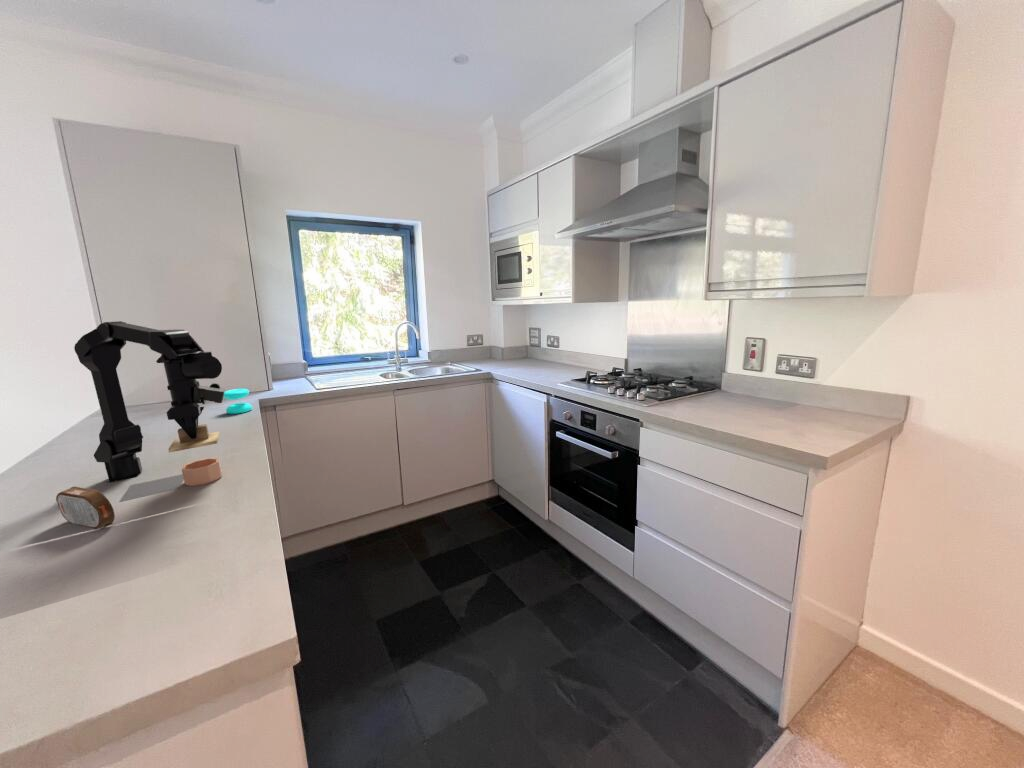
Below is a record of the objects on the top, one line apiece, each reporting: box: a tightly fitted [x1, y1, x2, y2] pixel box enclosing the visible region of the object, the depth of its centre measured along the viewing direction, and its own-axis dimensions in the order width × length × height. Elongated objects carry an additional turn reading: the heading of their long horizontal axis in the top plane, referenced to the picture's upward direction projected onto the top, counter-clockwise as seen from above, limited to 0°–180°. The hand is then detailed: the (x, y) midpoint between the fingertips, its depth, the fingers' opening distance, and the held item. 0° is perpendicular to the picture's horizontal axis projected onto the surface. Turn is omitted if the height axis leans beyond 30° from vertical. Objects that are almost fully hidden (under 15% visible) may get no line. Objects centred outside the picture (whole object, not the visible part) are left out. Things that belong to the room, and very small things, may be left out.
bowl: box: [181, 457, 223, 487], centre depth 114 cm, size 8×8×5 cm
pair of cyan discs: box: [223, 388, 253, 415], centre depth 191 cm, size 10×10×10 cm
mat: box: [118, 473, 184, 503], centre depth 112 cm, size 12×12×1 cm
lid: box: [167, 423, 220, 453], centre depth 112 cm, size 10×10×4 cm
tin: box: [55, 486, 116, 530], centre depth 93 cm, size 15×3×8 cm, turn 71°
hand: (194, 437), depth 112 cm, fingers closed on lid, 2 cm apart
